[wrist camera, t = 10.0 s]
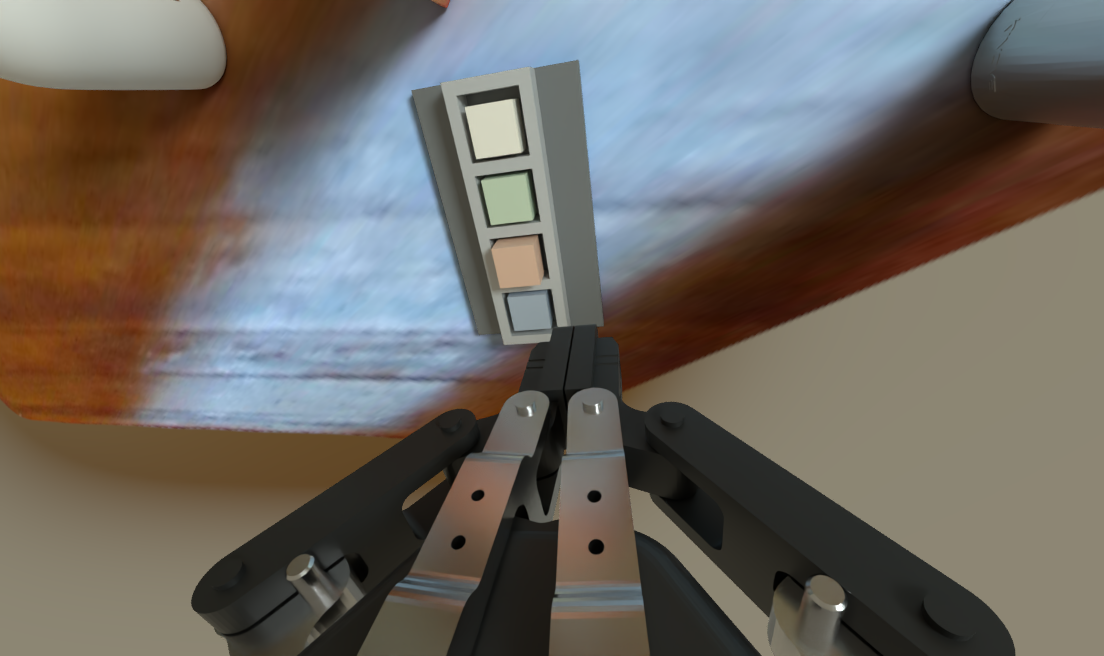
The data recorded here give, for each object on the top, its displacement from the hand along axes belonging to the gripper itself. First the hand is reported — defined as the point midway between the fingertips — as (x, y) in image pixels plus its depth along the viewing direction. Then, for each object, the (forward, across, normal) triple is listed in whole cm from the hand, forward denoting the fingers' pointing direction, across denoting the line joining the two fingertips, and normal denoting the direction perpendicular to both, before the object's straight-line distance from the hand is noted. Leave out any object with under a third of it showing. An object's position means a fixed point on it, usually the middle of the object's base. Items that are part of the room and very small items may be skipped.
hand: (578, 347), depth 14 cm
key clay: (+24, +8, +5) cm, 26 cm away
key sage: (+25, +8, -1) cm, 27 cm away
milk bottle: (+26, +34, -17) cm, 46 cm away
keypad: (+26, +8, +2) cm, 28 cm away
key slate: (+25, +8, +10) cm, 29 cm away
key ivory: (+25, +8, -6) cm, 27 cm away
